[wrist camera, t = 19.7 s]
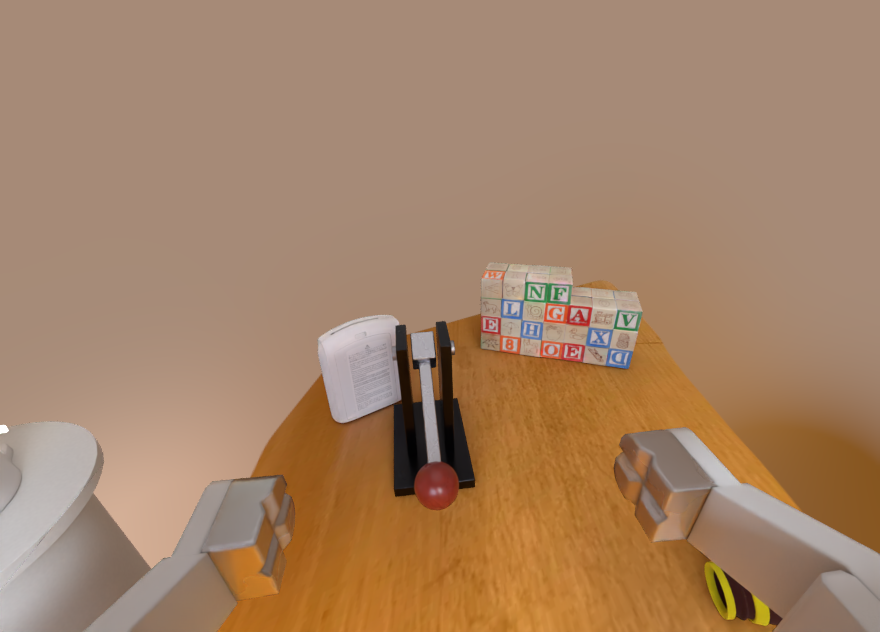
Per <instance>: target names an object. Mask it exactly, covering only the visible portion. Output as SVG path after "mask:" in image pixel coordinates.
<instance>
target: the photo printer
mask: <svg viewBox="0 0 880 632" xmlns="http://www.w3.org/2000/svg"><path fill="white" fill-rule="evenodd" d="M396 325H400V324H399V322H398V320H397V319H395V318H394V317H393V316H392V315H376V316H369V317H363V318H359V319H356V320H352V321H349V322H346V323H344V324H342V325H340V326H337V327H335V328H333V329H331V330H330V331H328V332H326V333H325V334H323V335H322V336H320V337H319V338H318V356H319V361H320V366H321V370H322V375H323V379H324V384H325V388H326V393H327V397H328V401H329V406H330V410H331V414H332V417H333V419H334V420H335V421H337V422H339V423H345V422H349V421H352V420H355V419H357V418H359V417H362V416H364V415H367V414H369V413H372V412H374V411H377V410H379V409H381V408H384V407H386V406H388V405H391V404H393V403H396V402H398V401H400V400H401V392H400V383H399V375H398V366H397V360H395V361H393V360H392V351H391V347H392V346H396V333H395V326H396Z"/></svg>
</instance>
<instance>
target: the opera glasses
mask: <svg viewBox="0 0 880 632" xmlns="http://www.w3.org/2000/svg"><path fill="white" fill-rule="evenodd" d="M704 571H705V578H706V582H707V586H708V589H709V592H710V595H711V597H712V600H713V602H714V604H715V606H716V608H717V610H718V612H719V613H720V615H721V616H722V617H723V618H724V619H727V620H733V619H735V617H736V616H737V617H739V618H740V619H741V620H746V619H748V620H749V621H751V622H752V623H755V624H759V625H763V626H767V625H768V624H769V623H770V624H774V625H778V624H779V623H780V622H781V621H782V619H783V618H781V617H780V616H779V615H778V614H776V613H775V612H774V611H773V610H771V609H770V608H769V607H768V606H767V605H765V604H764V603H763V602H762V601H760V600H759V599H758V598H757V597H755V596H754V595H753V594H752V593H751V592H749V591H748V590H747V589H746V588H744V587H743V586H742V585H741V584H739V583H738V582H737V581H736V580H735V579H733V578H732V577H731V576H730V575H728V574H727V573H726V572H725V571H723V570H722V569H721V568H720V567H719V566H717V565H716V564H715V563H714V562H706V563H705V566H704Z"/></svg>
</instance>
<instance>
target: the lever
mask: <svg viewBox="0 0 880 632" xmlns="http://www.w3.org/2000/svg"><path fill="white" fill-rule="evenodd" d="M410 336H411V349H412V360H413V369H419V373H420V384H421V394H422V405H423V416H424V427H425V438H426V449H427V460H428V463H427V464H425V465H424V466H423V467H422V468H421V469H420V470H419V471H418V473H417V475H416V478H415V483H414V489H415V494H416V496H417V498H418V500H419V501H420V503H421V504H422V505H424V506H425V507H427V508H429V509H432V510H442V509H445V508H447V507H448V506H450V505H451V504H452V503H453V502H454V500H455V499H456V497H457V495H458V491H459V480H458V477H457V474H456V472H455V471H454V469H453V468H452V467H451V466H449V465H448V464H446V463H444V462H441V455H440V446H439V437H438V427H437V418H436V409H435V400H434V391H433V381H432V372H431V368H434V367H436V352H435V343H434V335H433V331H431V332H420V333H411V334H410Z"/></svg>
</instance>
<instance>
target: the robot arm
mask: <svg viewBox="0 0 880 632" xmlns="http://www.w3.org/2000/svg"><path fill="white" fill-rule="evenodd" d="M7 431H8V429H7V428H6V427H5V425H3V426H0V433H5V432H7ZM619 446H620V447H621V449H622V450H623V452H622V453H621V454H620V455H618V456H617V457H616V459H615V464H614V473H615V479H616V482H617V484H618V487H619V489H620V491H621V493H622V494H623V496H624V498H626V499H627V500H629V501H630V502H632V503H633V504H634V505H636V507H635V516H636V518H637V520H638V521H639V523H640V525H641V526H642V528H643V530H644V531H645V533H646V535H647V536H648V538H649V540H650V541H651V543H652V542H661V541H670V540H680V539H687V541H688V542H689V543H690V544H691V545H693V546H694V547H695V548H696V549H698V550H699V551H700V552H701V553H702V554H704V555H705V556H706V557H707V558H709V559H710V560H711V561H712V562H714V563H715V564H716V565H717V566H719V567H720V568H721V569H722V570H723V571H725V572H726V573H727V574H728V575H730V576H731V577H732V578H733V579H735V580H736V581H737V582H738V583H739V584H741V585H742V586H743V587H744V588H746V589H747V590H748V591H749V592H751V593H752V594H753V595H754V596H755V597H757V598H758V599H759V600H760V601H762V602H763V603H764V604H765V605H767V606H768V607H769V608H770V609H771V610H773V611H774V612H775V613H776V614H778V615H779V616H780V617H781V618H783V619H782V621H781V622H780V623H779V624H778V625H777V627H776V628H775V629H774V630H773V631H772V632H880V554H879V553H877V552H875V551H873V550H871V549H869V548H868V547H866V546H864V545H862V544H860V543H858V542H856V541H854V540H853V539H851V538H849V537H847V536H845V535H843V534H841V533H839V532H837V531H836V530H834V529H832V528H830V527H828V526H826V525H825V524H823V523H821V522H819V521H817V520H815V519H813V518H811V517H810V516H808V515H806V514H804V513H802V512H800V511H798V510H797V509H795V508H793V507H791V506H789V505H787V504H785V503H783V502H782V501H780V500H778V499H776V498H774V497H772V496H770V495H768V494H767V493H765V492H763V491H761V490H759V489H757V488H755V487H754V486H752V485H750V484H748V483H743V484H741V483H740V482H739V481H738V480H737V479H736V478H735V477H734V476H733V475H732V474H731V472H730V471H729V470H728V469H727V468H726V467H725V466H724V465H723V464H722V463H721V462H720V461H719V460H718V458H717V457H716V456H715V455H714V454H713V453H712V452H711V451H710V450H709V449H708V448H707V447H706V446H705V444H704V443H703V442H702V441H701V440H700V439H699V438H698V437H697V436H696V435H695V434H694V433H693V432H692V431H691V430H690V429H688V428H686V427H683V428H674V429H666V430H655V431H647V432H639V433H632V434H625V435H624V436H623V437H622V438H621V441H620V444H619ZM12 457H13V449H12V448H11V447H10V446H8V445H7V444H4V443H3V444H0V512H1V511H2V510H3V509H4V508H5V507H6V506H7V504H8V503H9V502H10V501H11V499H12V498H13V496H14V495H15V493H16V492H17V490H18V488H19V485H20V482H21V472H20V470H19V469H18V468H17V467H16V466H15V465H14V464H13V463H12V461H11V460H12ZM286 486H287V483H286V481H285V479H284V476H283V475H275V476H263V477H252V478H241V479H232V480H222V481H213V482H211V483H210V484H209V485H208V486H207V487H206V488H205V490H204V492H203V494H202V496H201V498H200V500H199V502H198V504H197V506H196V508H195V510H194V512H193V514H192V516H191V518H190V520H189V522H188V524H187V526H186V528H185V530H184V532H183V534H182V536H181V538H180V540H179V542H178V544H177V546H176V548H175V550H174V552H173V554H172V556H171V557H168V558H163V559H162V560H161V561H160V562H159V563H158V564H157V565H155V566H154V567H153V568H152V569H151V570H150V571H149V572H148V573H147V574H146V575H144V576H143V577H142V578H141V579H140V580H139V581H138V582H137V583H136V584H135V585H134V586H132V587H131V588H130V589H129V590H128V591H127V592H126V593H125V594H124V595H123V596H121V597H120V598H119V599H118V600H117V601H116V602H115V603H114V604H113V605H112V606H111V607H109V608H108V609H107V610H106V611H105V612H104V613H103V614H102V615H101V616H100V617H98V618H97V619H96V620H95V621H94V622H93V623H92V624H91V625H90V626H89V627H88V628H86V629H85V630H84V631H83V632H217V631H218V630H219V628H220V627H221V625H222V624H223V623H224V621H225V620H226V619H227V617H228V616H229V615H230V613H231V612H232V611H233V609H234V608H235V606H236V605H237V601H240V600H246V599H252V598H258V597H264V596H270V595H276V594H279V590H280V586H281V582H282V578H283V574H284V570H285V566H286V558H285V556H284V553H283V550H284V548H285V547H286V546H287V545H288V544H289V543H290V541H291V540H292V536H293V531H294V525H295V508H294V502H293V500H292V497H291V496H289V495H288V494H286V493H285V490H286Z"/></svg>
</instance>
